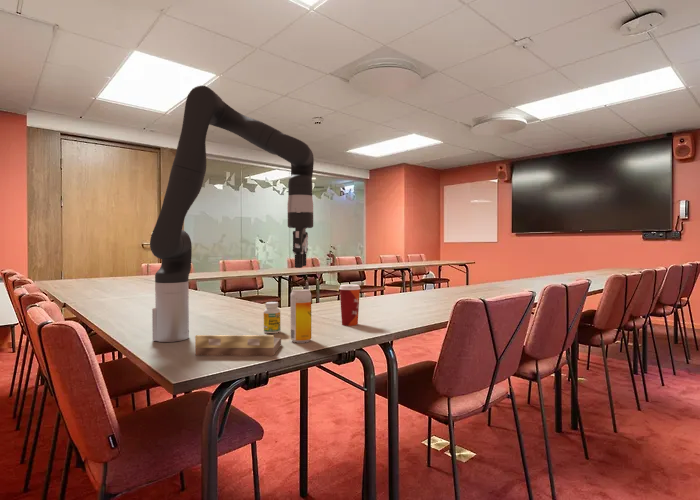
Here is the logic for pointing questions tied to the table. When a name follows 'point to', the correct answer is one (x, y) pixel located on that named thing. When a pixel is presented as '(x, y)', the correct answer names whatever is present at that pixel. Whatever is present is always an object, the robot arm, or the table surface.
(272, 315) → the supplement bottle
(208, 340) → the tan wooden block
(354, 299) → the paper cup
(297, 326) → the orange vitamin bottle
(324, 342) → the table surface
